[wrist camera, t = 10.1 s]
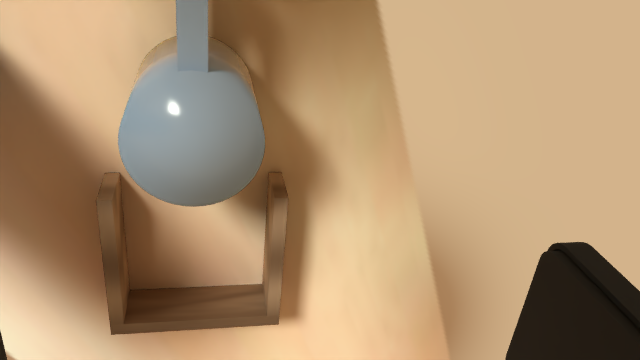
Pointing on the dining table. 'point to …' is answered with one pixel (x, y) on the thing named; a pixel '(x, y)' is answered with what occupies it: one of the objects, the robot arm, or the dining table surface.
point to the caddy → (195, 302)
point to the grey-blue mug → (192, 117)
